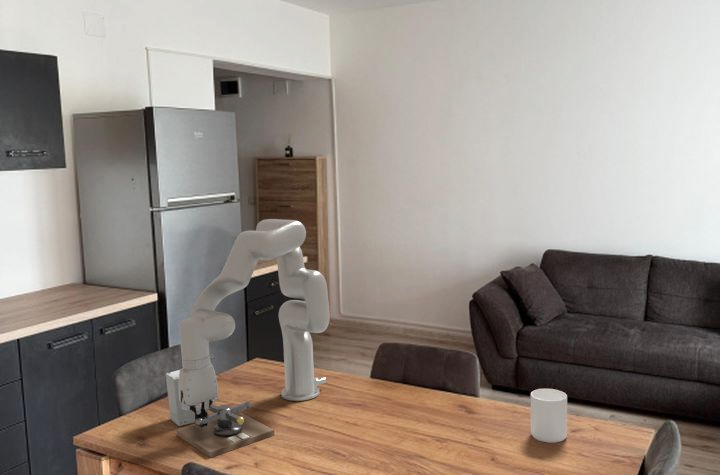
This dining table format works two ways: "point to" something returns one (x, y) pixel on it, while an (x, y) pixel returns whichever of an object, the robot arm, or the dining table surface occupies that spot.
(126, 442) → the dining table surface
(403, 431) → the dining table surface
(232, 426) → the capstan
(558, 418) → the mug
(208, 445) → the board
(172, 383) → the skincare box
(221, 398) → the dining table surface
